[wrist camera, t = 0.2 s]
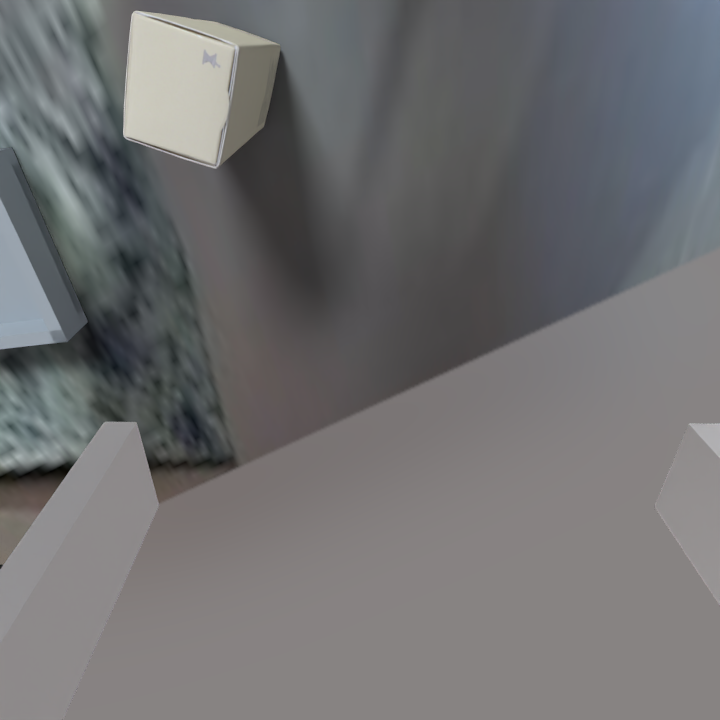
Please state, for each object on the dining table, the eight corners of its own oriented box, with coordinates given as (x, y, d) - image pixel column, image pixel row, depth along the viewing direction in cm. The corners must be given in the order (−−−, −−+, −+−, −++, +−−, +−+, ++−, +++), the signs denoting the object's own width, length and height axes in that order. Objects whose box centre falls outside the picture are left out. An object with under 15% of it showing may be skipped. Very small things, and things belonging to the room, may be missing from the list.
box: (212, 19, 30) (127, -4, 19) (284, 45, 31) (242, 37, 20) (198, 112, 33) (117, 139, 22) (265, 135, 34) (219, 172, 23)
